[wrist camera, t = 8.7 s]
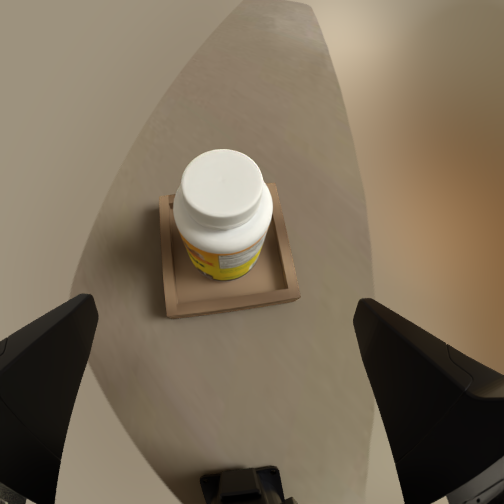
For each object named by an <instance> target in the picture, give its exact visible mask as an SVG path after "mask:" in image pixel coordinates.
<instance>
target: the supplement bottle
mask: <svg viewBox="0 0 504 504" xmlns="http://www.w3.org/2000/svg"><path fill="white" fill-rule="evenodd" d="M272 212H273V203H272V197H271V194H270V191H269V189H268V187H267V185H266V184H265V182H264V181H263V178H262V174H261V171H260V169H259V168H258V166H257V165H256V163H255V162H254V161H253V160H252V159H251V158H249V157H248V156H246V155H245V154H242V153H240V152H237V151H234V150H228V149H218V150H212V151H208V152H205V153H203V154H201V155H199V156H198V157H196V158H195V159H193V160H192V161H191V162H190V163H189V165H188V166H187V167H186V169H185V171H184V173H183V176H182V180H181V185H180V186H179V188H178V190H177V192H176V195H175V198H174V203H173V213H174V219H175V223H176V226H177V228H178V230H179V233H180V235H181V238H182V240H183V242H184V245H185V247H186V249H187V252H188V254H189V256H190V258H191V261H192V263H193V264H194V266H195V267H196V269H197V270H198V271H199V272H200V273H201V274H203V275H204V276H206V277H207V278H209V279H212V280H215V281H220V282H229V281H234V280H237V279H239V278H241V277H243V276H245V275H246V274H247V273H248V272H249V271H250V270H251V269H252V268H253V267H254V265H255V264H256V262H257V259H258V257H259V254H260V251H261V248H262V245H263V242H264V239H265V236H266V233H267V230H268V227H269V224H270V221H271V218H272Z"/></svg>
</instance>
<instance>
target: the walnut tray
mask: <svg viewBox="0 0 504 504" xmlns="http://www.w3.org/2000/svg"><path fill="white" fill-rule="evenodd" d="M266 185H267V187H268V189H269V191H270V194H271V197H272V203H273V212H272V218H271V221H270V224H269V227H268V230H267V233H266V236H265V239H264V242H263V245H262V248H261V251H260V254H259V257H258V259H257V262H256V264H255V265H254V267H253V268H252V269H251V270H250V271H249V272H248V273H247V274H246V275H245V276H243V277H241V278H239V279H237V280H234V281H229V282H220V281H215V280H212V279H209V278H207V277H206V276H204V275H203V274H201V273H200V272H199V271H198V270H197V269H196V267H195V266H194V264H193V263H192V261H191V258H190V256H189V254H188V252H187V249H186V247H185V245H184V242H183V240H182V238H181V235H180V233H179V230H178V228H177V226H176V223H175V219H174V213H173V203H174V198H175V195H176V194H173V195H167V196H160V197H159V208H160V236H161V254H162V268H163V281H164V292H165V302H166V311H167V317H169V318H171V319H177V318H185V317H194V316H202V315H209V314H217V313H224V312H231V311H238V310H245V309H251V308H258V307H264V306H270V305H276V304H282V303H288V302H293V301H296V300H297V299H299V298H300V297H301V296H300V291H299V287H298V282H297V277H296V272H295V267H294V263H293V258H292V253H291V249H290V244H289V240H288V235H287V231H286V227H285V222H284V218H283V214H282V209H281V205H280V201H279V197H278V193H277V188H276V184H275V183H266Z"/></svg>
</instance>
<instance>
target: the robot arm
mask: <svg viewBox="0 0 504 504" xmlns="http://www.w3.org/2000/svg"><path fill="white" fill-rule="evenodd" d="M97 323H98V311H97V308H96V305H95V301H94V298H93V296H92V295H91V294H79V295H78V296H76V297H74V298H72V299H70V300H69V301H67V302H65V303H63V304H62V305H60V306H58V307H57V308H55V309H53V310H51V311H50V312H48V313H46V314H45V315H43V316H41V317H40V318H38V319H36V320H35V321H33V322H31V323H30V324H28V325H26V326H25V327H23V328H21V329H20V330H18V331H16V332H15V333H13V334H12V335H10V336H9V337H8V338H5V339H4V340H2V341H0V504H25V503H26V499H29V500H30V501H32V502H34V503H36V504H55V495H56V488H57V481H58V475H59V469H60V464H61V458H62V452H63V448H64V443H65V438H66V434H67V430H68V426H69V422H70V418H71V414H72V410H73V407H74V403H75V399H76V396H77V393H78V389H79V386H80V383H81V379H82V377H83V373H84V370H85V367H86V364H87V361H88V358H89V355H90V351H91V347H92V343H93V339H94V335H95V331H96V327H97ZM353 325H354V329H355V333H356V337H357V341H358V345H359V349H360V353H361V357H362V361H363V364H364V367H365V369H366V372H367V375H368V378H369V381H370V384H371V387H372V390H373V393H374V396H375V399H376V402H377V405H378V408H379V411H380V414H381V417H382V420H383V423H384V427H385V430H386V433H387V437H388V441H389V444H390V447H391V451H392V455H393V458H394V462H395V463H396V464H395V466H396V470H397V474H398V478H399V482H400V486H401V490H402V494H403V498H404V502H405V504H431V503H433V502H435V501H437V500H439V499H441V498H443V497H444V496H446V497H447V500H448V502H449V504H504V375H502V374H500V373H498V372H496V371H495V370H493V369H491V368H489V367H487V366H485V365H483V364H481V363H479V362H477V361H476V360H474V359H472V358H470V357H468V356H466V355H465V354H463V353H461V352H460V351H458V350H456V349H455V348H453V347H452V346H450V345H448V344H447V345H446V343H445V342H443V341H442V340H440V339H438V338H437V337H435V336H433V335H432V334H430V333H429V332H427V331H425V330H423V329H422V328H420V327H418V326H417V325H415V324H414V323H412V322H410V321H409V320H407V319H405V318H403V317H402V316H400V315H399V314H397V313H395V312H394V311H392V310H390V309H389V308H387V307H385V306H384V305H382V304H380V303H378V302H377V301H375V300H373V299H372V298H362V299H360V300H359V302H358V305H357V308H356V311H355V314H354V318H353ZM272 470H275V472H274V473H270V472H271V471H272ZM204 479H207V480H209V481H208V482H205V481H204ZM200 484H201V487H202V491H203V494H204V497H205V500H206V504H298V503H297V502H296V501H295V499H294V498H293V497H290V498H288V499H286V500H285V499H284V494H283V489H282V483H281V478H280V473H279V470H278V468H277V467H275V466H270V467H264V468H259V469H253V468H248V469H241V470H234V471H225V472H222V473H221V474H211V475H203V476H201V478H200Z"/></svg>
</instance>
